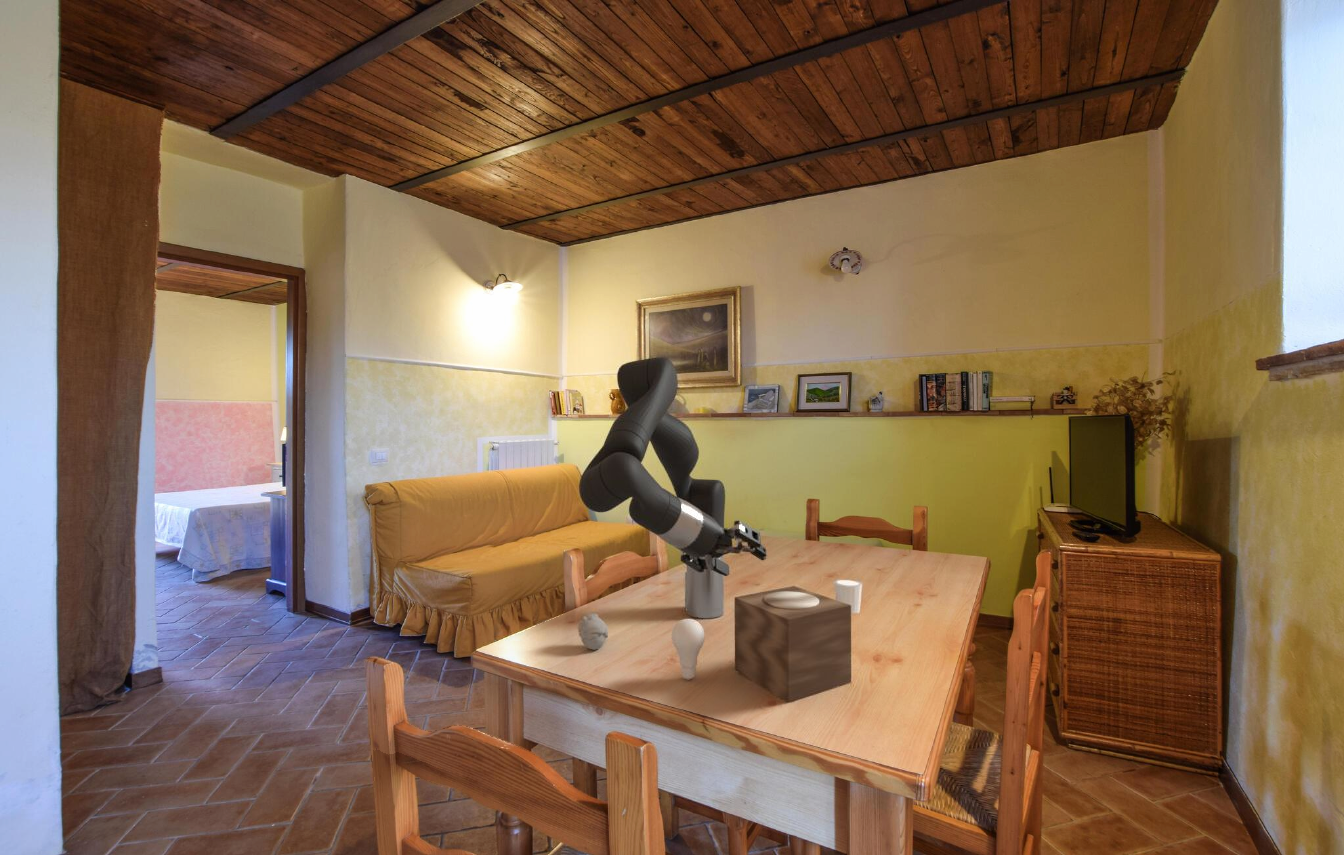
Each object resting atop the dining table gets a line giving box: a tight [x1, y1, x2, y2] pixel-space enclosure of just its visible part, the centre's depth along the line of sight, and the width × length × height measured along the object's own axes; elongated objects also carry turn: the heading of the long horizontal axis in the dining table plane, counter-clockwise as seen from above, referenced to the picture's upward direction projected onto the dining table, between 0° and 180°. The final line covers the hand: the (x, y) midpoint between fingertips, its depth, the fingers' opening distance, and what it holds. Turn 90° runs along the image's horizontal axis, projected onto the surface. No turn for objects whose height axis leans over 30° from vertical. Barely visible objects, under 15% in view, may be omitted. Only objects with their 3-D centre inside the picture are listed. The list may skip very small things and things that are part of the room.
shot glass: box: [833, 579, 863, 615], centre depth 148 cm, size 7×7×7 cm
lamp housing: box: [734, 585, 852, 704], centre depth 109 cm, size 15×15×14 cm
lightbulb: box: [671, 618, 706, 681], centre depth 108 cm, size 6×6×11 cm
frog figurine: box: [577, 613, 609, 651], centre depth 123 cm, size 6×7×7 cm
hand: (745, 563), depth 107 cm, fingers open, 8 cm apart
